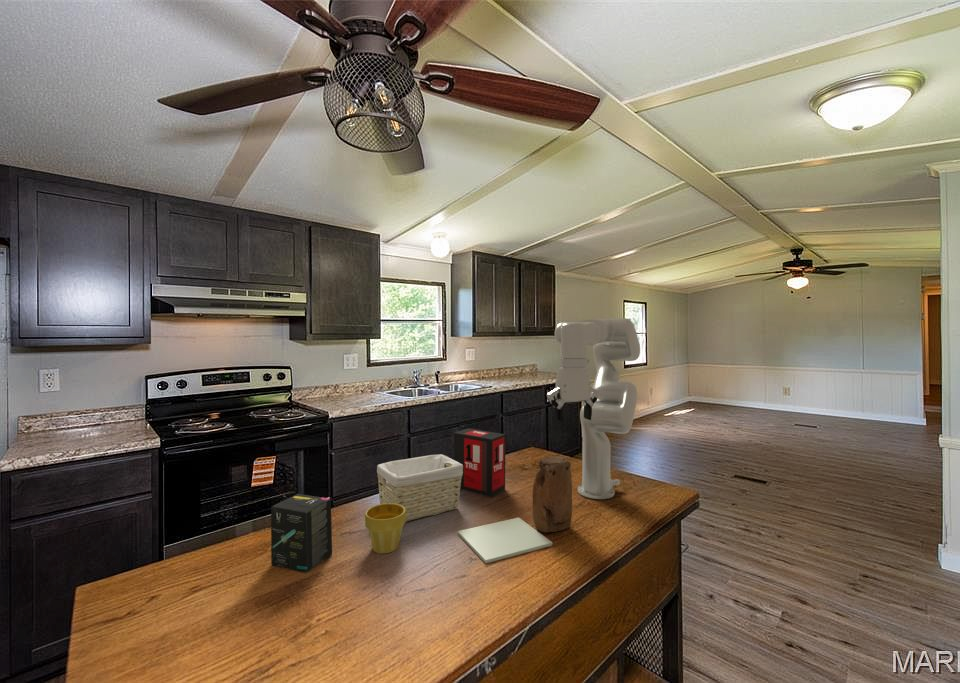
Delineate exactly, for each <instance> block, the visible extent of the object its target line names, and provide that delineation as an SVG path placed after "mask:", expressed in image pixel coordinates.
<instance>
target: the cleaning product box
mask: <svg viewBox="0 0 960 683" xmlns="http://www.w3.org/2000/svg"><path fill="white" fill-rule="evenodd" d="M453 460H455V461H457V462H459V463H460V464H462V465H463V475H462V479H461V486H460V490H463V491H466V492H470V493H474V494H476V495H480V496H485V497H488V498H491V499H492V498H494V497H495V496H497V495H499V494H500V493H502V492H504V491H505V490H506V434H504V433H499V432H492V431H487V430H481V429H480V430H479V429H476V428H465V429H462V430H458V431H455V432H453Z"/></svg>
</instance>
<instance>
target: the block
mask: <svg viewBox="0 0 960 683" xmlns="http://www.w3.org/2000/svg"><path fill="white" fill-rule="evenodd" d="M571 467H572V463H571V462H570V461H569V460H567V459H565V457H562V456H558V455H553V456H545V457H541V458H539V463H538V470H537V471H536V474H535V477H534V481H533V485H532V519H533V523H534V525H535V528H536V529H535V530H536V531H538V532H540V533H550V532H553V533H554V532H555V533H557V532H561V531H564V530H566V529H568V528H570V526H571V524H572V517H573V481H572V479H573V475H572V472H571Z"/></svg>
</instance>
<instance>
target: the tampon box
mask: <svg viewBox="0 0 960 683" xmlns="http://www.w3.org/2000/svg"><path fill="white" fill-rule="evenodd" d="M332 530H333V529H332V499H331V498H329V497H321V496H313V495H308V494H301V493H297V494H295V495H293V496H290V497H289V498H286V499H284V500H282V501H280V502H279V503H276V504H274V505H272V506H271V507H270V538H271V540H270V546H271V548H270V550H271V551H270V553H271V556H270V557H271V560H270V562H271V564H270V565H271V566H272V567H276V568H281V569H287V570H289V571H290V570H291V571H295V572H301V573H304V574H307V573H309V572H310V571H311V570H313V569H314V568H316V567H317V566H319V565H320V564H321V563H322V562H323V561H325V560H326V559H328V558H329V557H330V556H331V555H332V554H333V540H332V539H333V534H332V533H333V532H332Z"/></svg>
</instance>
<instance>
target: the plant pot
mask: <svg viewBox="0 0 960 683" xmlns="http://www.w3.org/2000/svg"><path fill="white" fill-rule="evenodd" d="M405 519H406V510H405V508H404V507H403V506H402V505H399V504H395V503H384V504H380V503H379V504H375V505H373V506H371V507H369V508H367V510H366V511H365V513H364V522H365V528H366V530H368V532H369V533H368V534H369V537H370V542H371V547H372V550H373V552H375V553H376V554H389V553H392V552H394V551H396V550H397V549H398V548H399V545H400V542H401V541H400V540H401V535H402V533H403V532H402V530H403V527H404V525H405V524H406V522H405Z"/></svg>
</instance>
